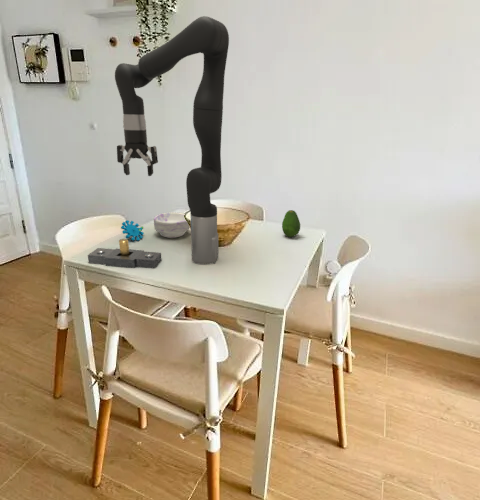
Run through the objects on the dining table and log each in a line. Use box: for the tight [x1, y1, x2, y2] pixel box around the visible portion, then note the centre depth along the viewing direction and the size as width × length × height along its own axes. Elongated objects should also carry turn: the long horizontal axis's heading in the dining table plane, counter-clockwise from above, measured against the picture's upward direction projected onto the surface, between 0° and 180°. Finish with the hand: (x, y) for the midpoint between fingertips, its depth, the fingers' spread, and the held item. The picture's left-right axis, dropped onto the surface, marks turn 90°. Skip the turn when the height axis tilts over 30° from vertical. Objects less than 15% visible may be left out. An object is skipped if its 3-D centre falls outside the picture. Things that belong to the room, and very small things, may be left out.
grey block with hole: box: [87, 247, 162, 269], centre depth 126 cm, size 24×9×4 cm, turn 82°
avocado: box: [281, 209, 301, 238], centre depth 154 cm, size 8×8×12 cm
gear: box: [120, 219, 145, 242], centre depth 149 cm, size 11×6×10 cm
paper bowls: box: [153, 212, 191, 239], centre depth 154 cm, size 15×15×8 cm
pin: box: [118, 238, 130, 257], centre depth 125 cm, size 3×3×8 cm
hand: (138, 175), depth 130 cm, fingers open, 8 cm apart
